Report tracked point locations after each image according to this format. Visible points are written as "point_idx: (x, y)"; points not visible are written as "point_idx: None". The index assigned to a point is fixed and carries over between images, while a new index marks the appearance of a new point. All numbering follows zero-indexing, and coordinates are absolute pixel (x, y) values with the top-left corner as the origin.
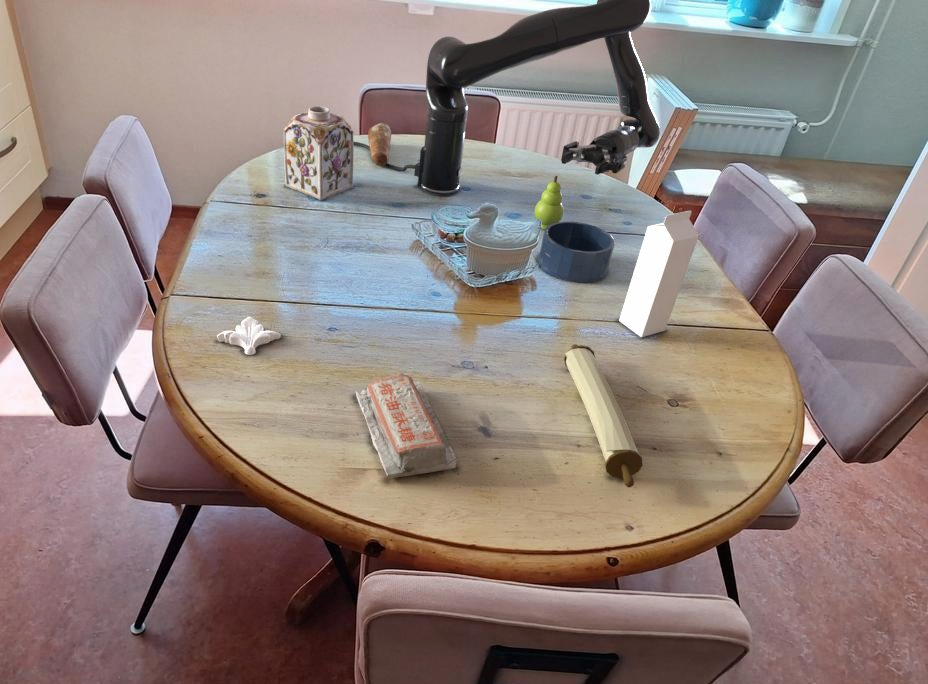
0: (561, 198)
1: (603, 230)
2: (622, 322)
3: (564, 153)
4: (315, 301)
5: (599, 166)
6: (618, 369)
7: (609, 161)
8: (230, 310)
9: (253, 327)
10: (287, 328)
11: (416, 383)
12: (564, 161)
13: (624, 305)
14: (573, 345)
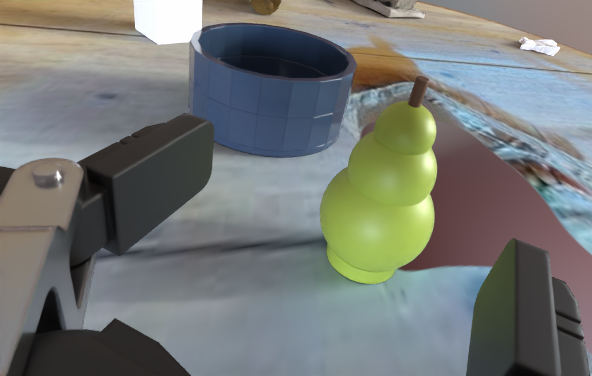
0: (354, 148)
1: (210, 58)
2: None
3: (572, 323)
4: (545, 71)
5: (191, 114)
6: (219, 12)
7: (50, 160)
8: (588, 67)
9: (544, 45)
10: (527, 53)
11: (391, 9)
12: (487, 277)
13: (201, 12)
14: (272, 3)
